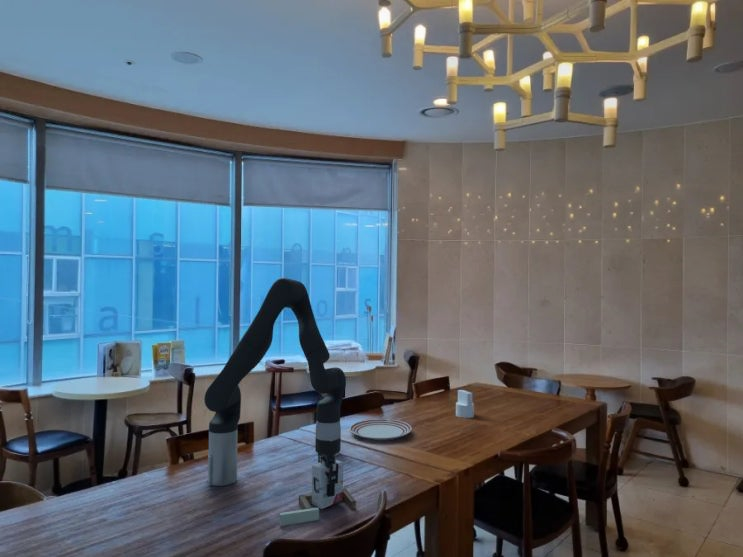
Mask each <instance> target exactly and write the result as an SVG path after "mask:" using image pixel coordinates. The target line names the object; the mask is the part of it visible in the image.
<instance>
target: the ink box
mask: <svg viewBox="0 0 743 557" xmlns="http://www.w3.org/2000/svg"><path fill="white" fill-rule="evenodd" d="M336 463H338V465H339V466H338V483H337V484H335V495H334V496H332V497H328V496H327V476H326V475H325V473H326V471H327V472H328V473H329V469H328V467H324V466H323V465H322V463H318V462H317V463H314V464H312V465H311V476H312V477H311V493H312V505H313V506H315V507H316V508H317V507H318V508H319V509H321V510H323V509H325V508H327V507H329V506H332V505H335V504H336V503H339V502H341V501H344V500H343V489H344V483H343V482H344V462H343V461H341V460H337V459H336ZM331 479H333V477H332V478H331Z"/></svg>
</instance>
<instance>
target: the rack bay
mask: <svg viewBox="0 0 743 557" xmlns="http://www.w3.org/2000/svg"><path fill="white" fill-rule="evenodd" d="M342 501H344V503H345V505H346V506H347V507H348V508H349V510H351V511H352V510H356V509H357V500H356V499H355V498H354V497H353V495H352V494H351V493H350V491H349V490H348V489H347V488H343V500H342ZM311 504H312V492H311V493H306V494H298V505H299V507H300V508H301V509H300V510H304V509H311V508H312V506H311ZM312 505H313V504H312Z"/></svg>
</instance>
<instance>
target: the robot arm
mask: <svg viewBox="0 0 743 557" xmlns="http://www.w3.org/2000/svg"><path fill="white" fill-rule="evenodd" d="M285 308H287V309H290V310H291V311H292V312H293V314H294V316H295V318H296V320H297V323H298V339H299V344H300V349H301V350H302V351H303V354H304V357H305V359H306V361H307V367H308V372H309V382H310V384H311V387H312V388H313V390H314V391H315V392H316V393H318V394H320V395H321V394H322V395H324V394H325V395H324V396H325V397H324V398H322V399H320V400H319V401H318V402H317V404H316V423H315V436H314V437H315V438H314V439H315V442H314V443H315V446H314V447H315V448H314V449H315V450H314V451H315V452H316V453H317V463H322V465H323V466H324V467H328V469H329V473H328V472H327V471H326V473H325V475H326V476H327V496H328V497H332V496H334V495H335V484H337V483H338V466H339V465H338V463H336V460H337V459H336V458H335V457H336V456H334V455H335V454H336V453H339V452H341V450H342V449H341V448H342V446H341V443H342V442H341V439H342V437H341V436H342V426H341V405H342V402H343V398H344V394H345V391H346V385H347V379H346V374H345V372H344V370H343V369H341V368H340V367H329V368H325V366H324V365H325V363H327V362H328V361H329V359H330V352H329V350H328V347H327V346H326V343H325V341H324V339H323V336H322V335H321V332H320V330H319V327H318V324H317V321H316V318H315V315H314V312H313V307H312V304H311V300H310V297H309V293H308V290H307V288H306V286H305V284H303V283H302V282H301V281H299V280H295V279H291V278H287V277H280V278H278V279H276V280H275V281H274V282H273V284H272V285H271V286H270V287H269V289H268V292H267V293H266V295H265V298H264V300H263V301H262V304H261V306H260V307H259V310H258V312H257V313H256V315H255V317H254V318H253V320H252V322H251V323H250V325H249V327H248V328H247V330H246V331H245V332H244V333H243V335H242V337H241V339H240V341H239V342H238V343H237V345H236V347H235V348H234V351H233V352H232V353H231V355H230V357H229V359H228V360H227V362H226V363H225V365H224V367H223V368H222V370H221V371H220V372H219V374H218V375H217V376H216V378H214V380H213V381H212V382H211V384H210V385H209V386H208V387H207V389H206V391H205V394H204V399H203V400H204V404H205V407H206V409H207V410H209V411H210V412H214V415H213V417H212V418H211V420H210V421H209V423H208V452H207V482H208V486H209V487H211V486H214V487H215V486H216V487H224V486H228V485H232V484H234V483H236V482H237V480H238V426H239V421H240V419H241V407H242V406H241V405H242V392H241V389H240V386H239V384H240V383H241V382H242V380H243V379H245V377H246V376H248V375H249V374H250V373H251V371H253V370H254V369H255V368H256V367H257V366H258V365H259V363H261V361H262V360H263V358H265V356H266V353H267V352H268V351H269V349H270V347H271V345H272V342H273V337H274V328H275V327H274V326H275V323H276V321H277V319H278V317H279V316H280V314H281V313H282V311H283V310H284V309H285ZM339 454H340V453H339ZM332 477H333V479H331V478H332Z"/></svg>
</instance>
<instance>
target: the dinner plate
mask: <svg viewBox="0 0 743 557" xmlns="http://www.w3.org/2000/svg"><path fill="white" fill-rule="evenodd" d="M349 432H351V433H352V434H353V435H355V436H358V437H360V438H364V439H366V438H367V440H371V439H373V440H372V441H390V440H389V439H392V440H395V438H396V439H399V438H402V437H404V436H407V435H408V434H409V433H410V432H412V425H411V424H409V423H407V422H405V421H402V420H397V419H387V418H372V419H371V418H370V419H365V420H361V421H356V422H355V423H353V424H351V425H350V427H349Z"/></svg>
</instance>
